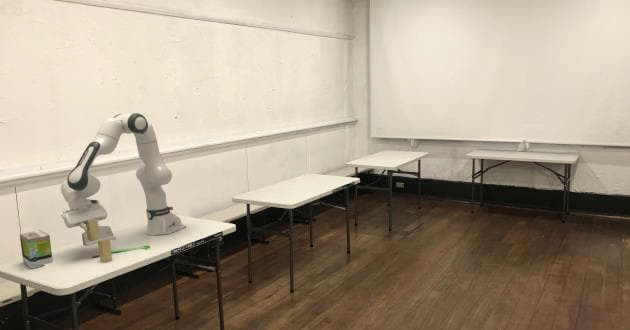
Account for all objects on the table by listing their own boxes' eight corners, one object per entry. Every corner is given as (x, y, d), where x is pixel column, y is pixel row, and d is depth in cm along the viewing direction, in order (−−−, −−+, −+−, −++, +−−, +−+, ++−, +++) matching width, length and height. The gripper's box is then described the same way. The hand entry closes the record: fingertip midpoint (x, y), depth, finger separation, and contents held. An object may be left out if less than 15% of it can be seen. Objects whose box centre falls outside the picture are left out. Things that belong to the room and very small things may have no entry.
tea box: (54, 263, 249) (50, 234, 246) (31, 269, 242) (27, 239, 239) (44, 256, 259) (40, 228, 257) (22, 262, 253) (18, 233, 250)
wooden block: (95, 237, 254) (92, 218, 252) (99, 239, 251) (97, 219, 250) (87, 240, 251) (85, 220, 249) (91, 241, 248) (89, 221, 247)
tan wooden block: (107, 258, 249) (105, 238, 247) (112, 259, 247) (109, 240, 245) (100, 260, 246) (97, 241, 244) (104, 262, 243) (102, 242, 242)
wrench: (151, 250, 263) (149, 248, 267) (151, 247, 262) (149, 244, 267) (98, 256, 252) (97, 253, 256) (98, 252, 251) (97, 249, 256)
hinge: (87, 248, 270) (82, 230, 271) (83, 249, 274) (78, 231, 274) (116, 239, 283) (111, 222, 284) (113, 241, 286) (108, 224, 287)
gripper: (61, 208, 244) (73, 230, 240) (101, 199, 260) (113, 220, 256) (57, 216, 248) (70, 238, 243) (97, 206, 264) (109, 227, 259)
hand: (92, 229), depth 250 cm, fingers closed on wooden block, 4 cm apart
